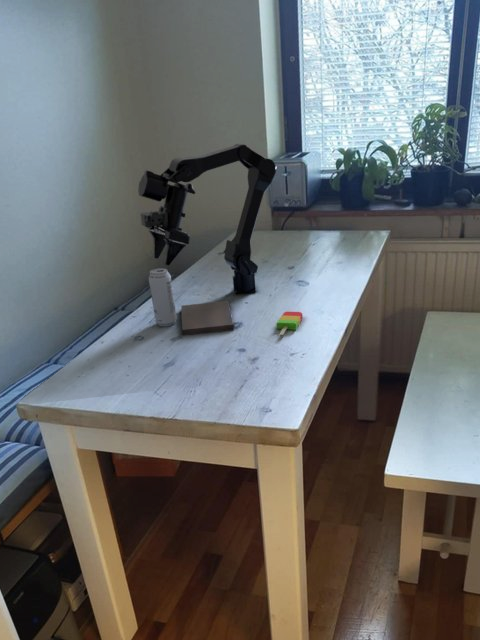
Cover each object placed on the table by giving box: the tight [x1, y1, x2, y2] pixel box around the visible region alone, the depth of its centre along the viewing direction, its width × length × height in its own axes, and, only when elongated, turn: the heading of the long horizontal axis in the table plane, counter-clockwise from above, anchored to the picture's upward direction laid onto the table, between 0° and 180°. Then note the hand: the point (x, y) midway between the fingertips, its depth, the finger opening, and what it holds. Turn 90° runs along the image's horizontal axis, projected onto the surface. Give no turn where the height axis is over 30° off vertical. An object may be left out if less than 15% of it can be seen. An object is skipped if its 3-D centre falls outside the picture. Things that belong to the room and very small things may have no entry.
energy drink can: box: [148, 267, 178, 327], centre depth 169 cm, size 6×6×15 cm
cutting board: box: [180, 300, 235, 336], centre depth 173 cm, size 14×20×2 cm
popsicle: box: [275, 311, 303, 336], centre depth 164 cm, size 6×15×2 cm, turn 164°
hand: (161, 261), depth 176 cm, fingers open, 9 cm apart
